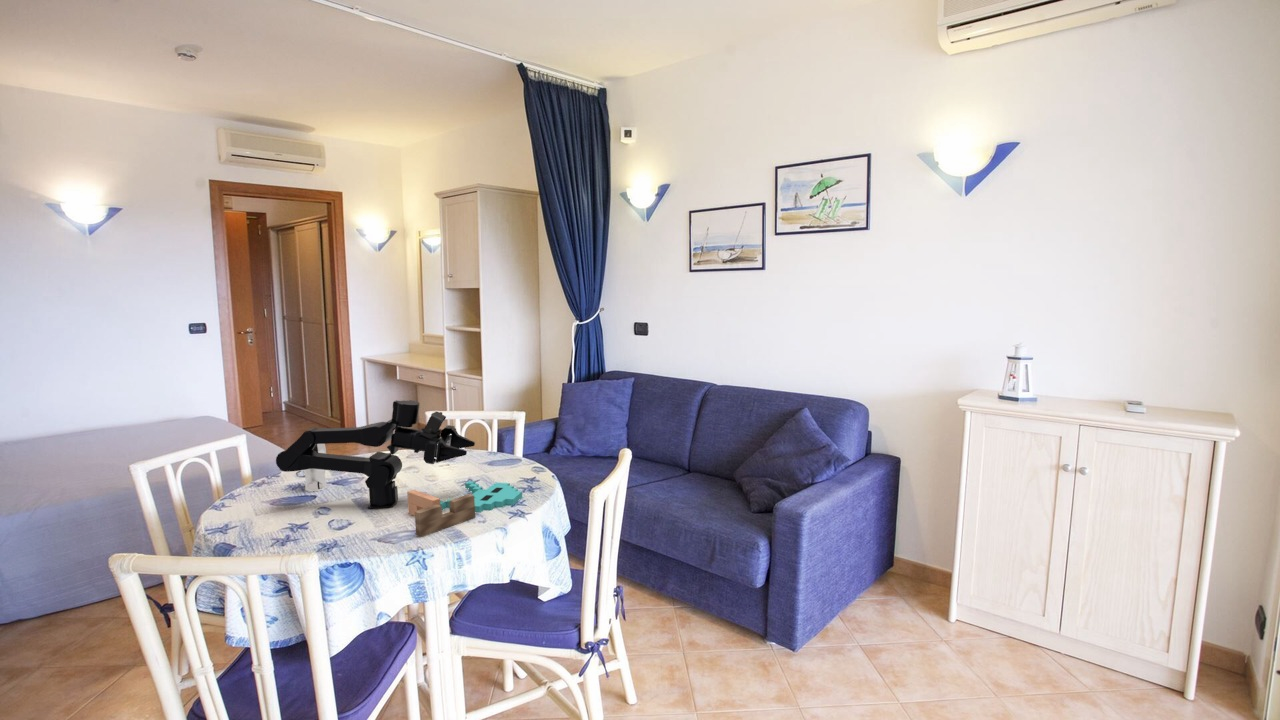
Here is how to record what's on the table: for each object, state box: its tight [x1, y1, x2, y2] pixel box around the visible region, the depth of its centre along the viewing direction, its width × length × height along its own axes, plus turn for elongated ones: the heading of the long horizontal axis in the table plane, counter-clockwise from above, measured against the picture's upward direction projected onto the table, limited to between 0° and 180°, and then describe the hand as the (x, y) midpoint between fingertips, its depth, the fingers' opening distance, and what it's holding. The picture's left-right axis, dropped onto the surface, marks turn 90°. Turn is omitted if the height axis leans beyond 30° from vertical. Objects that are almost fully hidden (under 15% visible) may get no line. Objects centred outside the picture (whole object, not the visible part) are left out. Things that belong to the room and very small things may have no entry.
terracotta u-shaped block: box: [406, 489, 441, 517], centre depth 165 cm, size 12×2×6 cm, turn 51°
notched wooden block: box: [414, 493, 476, 538], centre depth 158 cm, size 16×2×6 cm, turn 141°
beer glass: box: [303, 444, 328, 493], centre depth 190 cm, size 7×7×15 cm
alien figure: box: [440, 480, 523, 513], centre depth 178 cm, size 20×2×20 cm
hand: (470, 448), depth 174 cm, fingers open, 9 cm apart
